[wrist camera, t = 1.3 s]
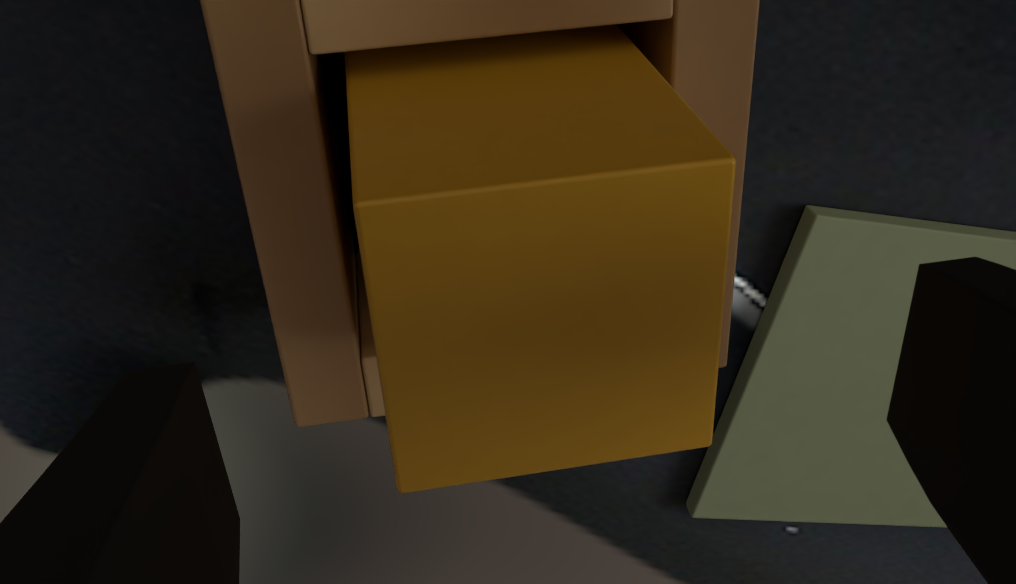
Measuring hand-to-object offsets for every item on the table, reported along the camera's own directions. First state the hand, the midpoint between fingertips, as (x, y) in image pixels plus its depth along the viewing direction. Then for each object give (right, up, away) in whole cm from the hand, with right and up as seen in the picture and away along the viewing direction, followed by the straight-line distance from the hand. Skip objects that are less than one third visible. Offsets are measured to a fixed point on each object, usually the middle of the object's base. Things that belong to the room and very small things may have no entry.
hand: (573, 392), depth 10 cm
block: (-1, +4, +7) cm, 8 cm away
